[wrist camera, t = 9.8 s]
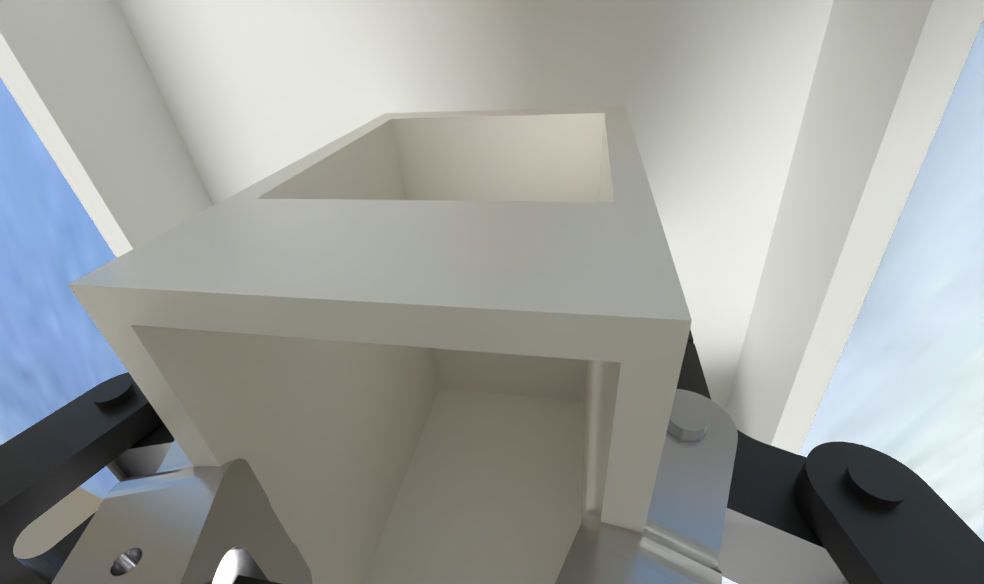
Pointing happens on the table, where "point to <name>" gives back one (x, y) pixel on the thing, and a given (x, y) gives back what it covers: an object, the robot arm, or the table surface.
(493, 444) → the open box
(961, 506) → the table surface
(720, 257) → the tray
